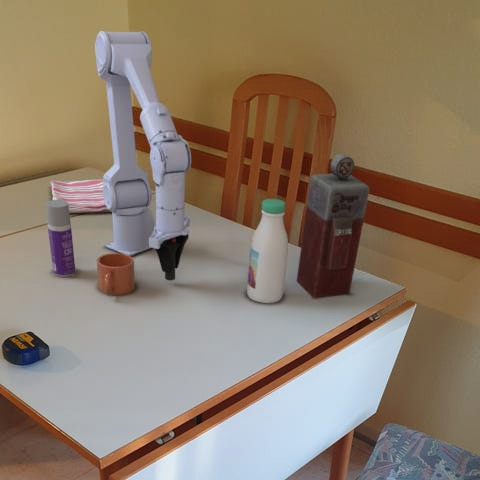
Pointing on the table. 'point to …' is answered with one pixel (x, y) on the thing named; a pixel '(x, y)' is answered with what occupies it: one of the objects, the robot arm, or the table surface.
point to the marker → (172, 275)
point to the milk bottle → (268, 254)
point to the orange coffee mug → (116, 273)
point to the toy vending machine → (332, 230)
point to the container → (60, 238)
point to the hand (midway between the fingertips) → (170, 269)
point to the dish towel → (80, 195)
